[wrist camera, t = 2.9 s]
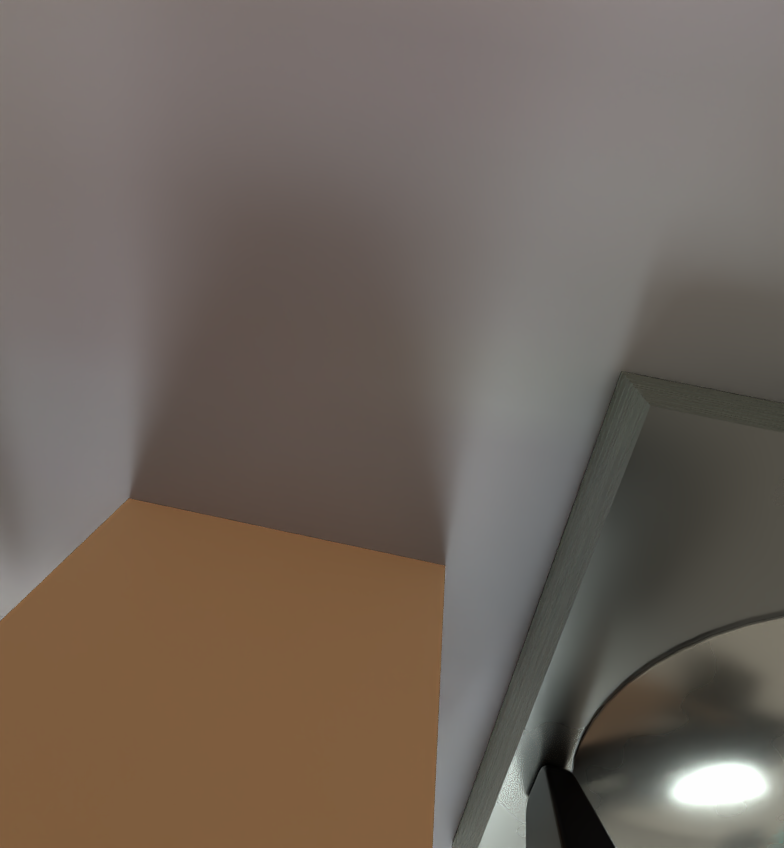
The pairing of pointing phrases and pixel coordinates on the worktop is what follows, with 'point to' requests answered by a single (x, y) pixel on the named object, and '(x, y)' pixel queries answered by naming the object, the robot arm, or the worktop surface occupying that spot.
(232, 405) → the worktop surface
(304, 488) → the worktop surface
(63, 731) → the block
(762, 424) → the plate
